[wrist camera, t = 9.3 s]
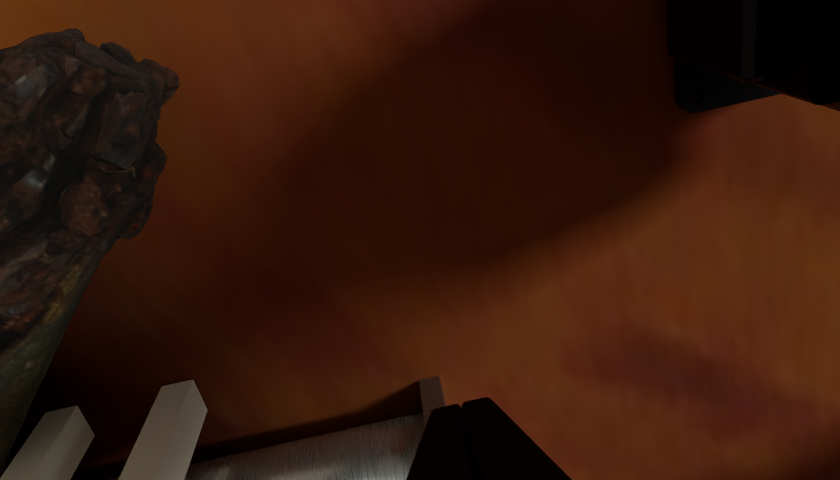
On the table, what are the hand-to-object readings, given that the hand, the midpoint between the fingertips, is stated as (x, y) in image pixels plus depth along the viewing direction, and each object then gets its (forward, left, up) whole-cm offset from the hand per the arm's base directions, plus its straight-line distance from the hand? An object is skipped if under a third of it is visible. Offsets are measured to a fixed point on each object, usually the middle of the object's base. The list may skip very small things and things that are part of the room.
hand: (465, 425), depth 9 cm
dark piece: (+14, 0, -12) cm, 18 cm away
